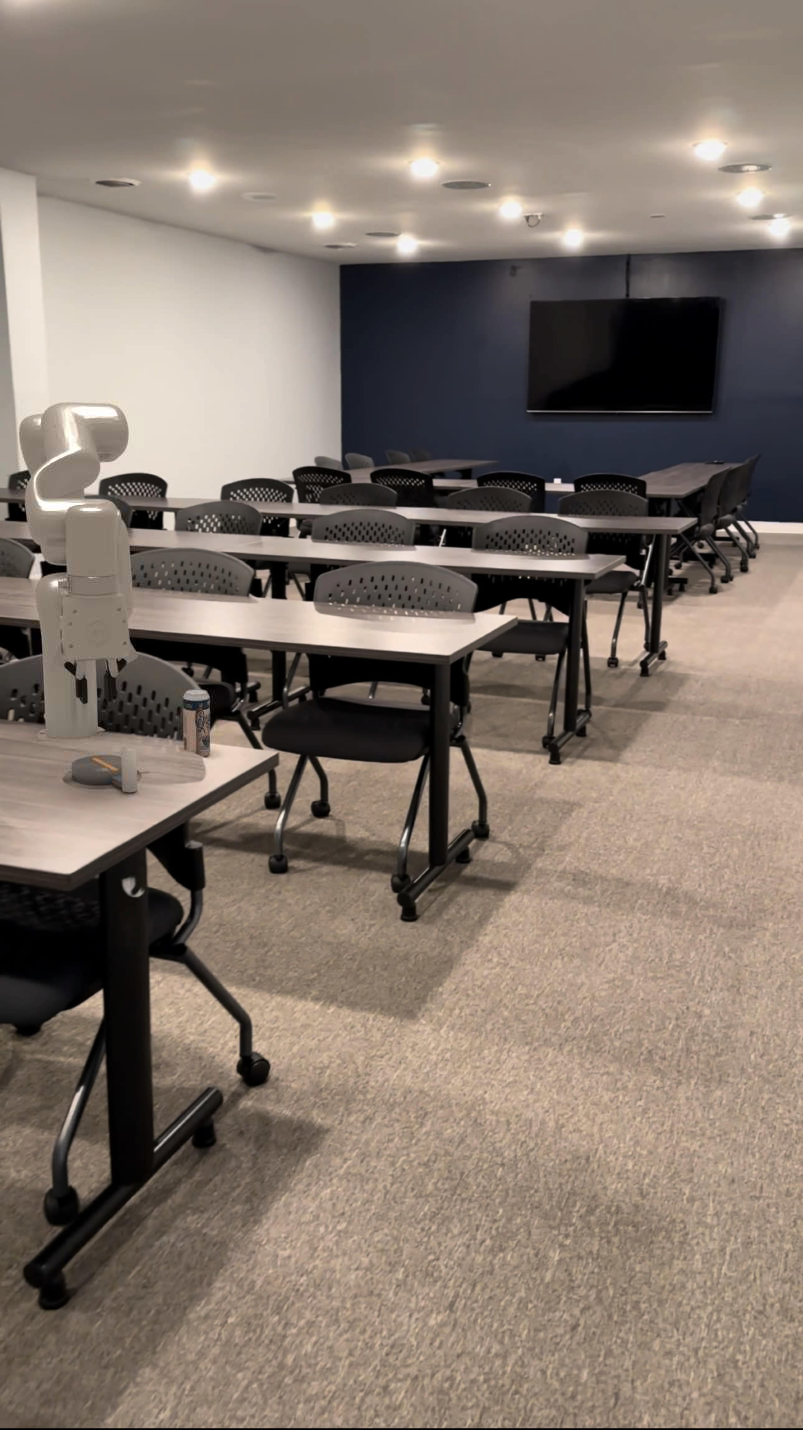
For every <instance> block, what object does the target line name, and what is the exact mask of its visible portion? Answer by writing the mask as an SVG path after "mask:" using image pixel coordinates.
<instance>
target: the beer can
mask: <svg viewBox="0 0 803 1430" xmlns="http://www.w3.org/2000/svg"><path fill="white" fill-rule="evenodd" d="M210 708H211V698H210V695H209V693H208V691H207V690H206V689H205V690H204V689H188V690H186V691H185V692H184V695H183V697H182V709H183V710H182V712H183V713H182V715H183V719H182V720H183V724H182V725H183V729H182V731H183V733H182V734H183V735H182V736H183V749H184V750H185V751H187V752H191V753H194V754H195V755H198V756H200V757H202V758H205V757H207V756H208V755H210V753H211V711H210V710H211V709H210Z"/></svg>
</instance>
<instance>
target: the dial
mask: <svg viewBox="0 0 803 1430" xmlns="http://www.w3.org/2000/svg"><path fill="white" fill-rule="evenodd" d="M120 752H121V753H120V755H112V754H110V755H109V754H101V755H99V754H98V755H91V756H85V757H81V758H78V759H75V760H74V761H73V762H71V768H70V769H71V771H72V778H73V779H74V780H75V781H78V782H81V783H86V784H112V783H113V784H115V785H117V786H119V787H121V788H122V789H121V788H120V789H121V790H122V792H123V793H133V792H138V781H137V771H138V764H137V762H138V759H137V747H135V746H124V747H121V751H120Z"/></svg>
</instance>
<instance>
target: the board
mask: <svg viewBox="0 0 803 1430" xmlns="http://www.w3.org/2000/svg"><path fill="white" fill-rule="evenodd" d="M143 774H150V771H142V772H140V771H139V770H137V782H139V781H140V780H142V776H143ZM62 781H63V783H64V784H66V785H68V786H70V787H73V788H77V789H85V790H109V789H112V790H113V789H119V788H120V789H121V790H122V788H121V787H119V786H117V785H115V784H113V783H112V784H86V783H81V782H78V781H75V780H74V779H73V778H72V770H70V771H68V772H66V773H65V774H64V775H63V776H62Z"/></svg>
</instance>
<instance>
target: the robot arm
mask: <svg viewBox="0 0 803 1430" xmlns="http://www.w3.org/2000/svg"><path fill="white" fill-rule="evenodd" d="M128 425H129V423H128V421H127V418H126V415H125V413H124V412H123V410H121V408H120V407H119V406H117V405H115V404H112V403H101V402H99V403H97V402H95V403H94V402H70V401H69V402H59V403H55V404H52V405H50V406H48V407H47V409H45V411H44V412H43V413H37V414H31V415H29V416H26V417H25V418H23V419H22V420H21V422H20V425H19V429H18V435H19V436H18V437H19V438H18V439H19V445H20V450H21V454H22V458H23V461H24V463H25V465H26V468H27V470H28V472H29V475H30V479H29V480H28V482H27V484H26V489H25V492H24V493H25V494H24V506H25V514H26V522H27V527H28V528H27V529H28V531H29V532H28V533H29V535H30V537H31V540H32V541H33V542H34V543H35V544H37V545H39V546H40V552H41V555H42V557H43V559H44V561H46V562H47V563H48V564H50V565H55V566H66V572H55V573H51V574H47V575H45V576H43V577H41V578H40V579H38V581H37V582H36V585H35V588H34V597H35V598H34V599H35V604H36V605H35V606H36V611H37V615H38V620H39V629H40V634H41V647H42V668H43V671H42V672H43V673H42V674H43V696H44V714H43V718H44V720H45V728H43V729H41V730H40V731H39V732H38V733H37V741H38V742H42V741H48V740H54V739H61V740H77V739H78V740H79V739H84V738H89V737H92V736H95V735H96V734H97V733H98V732H103V731H105V729H104V728H103V727H100V726H98V725H99V723H98V694H97V693H98V692H97V689H98V688H97V663H96V661H104V662H105V666H106V670H105V673H104V674H103V696H104V699H106V701H107V702H109V703H113V702H114V696H117V679H116V678H117V677H118V676H119V673H120V672H121V671H123V669H124V667H126V665H128V664H129V663H132V662H133V661H134V660H136V659H138V657H139V654H138V652H137V651H136V649H135V648H134V646H133V644H132V643H131V640H130V630H129V621H128V620H129V619H130V618H131V616H132V614H133V611H134V610H133V609H134V591H133V580H132V565H131V562H132V561H131V552H130V551H131V550H130V540H129V533H128V529H127V526H126V523H125V521H124V520H123V519H122V514H121V510H120V509H118V507H117V506H116V505H115V504H114V502H113V501H111V500H109V499H105V498H85V489H87V488H88V487H90V486H92V484H94V483H95V482H96V481H97V479H98V477H99V476H100V473H101V463H112V462H114V461H116V460H117V459H118V458H120V457H121V456H123V454H124V452H125V451H126V449H127V447H128V443H129V438H130V437H129V435H130V434H129V432H130V431H129V426H128Z"/></svg>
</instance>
